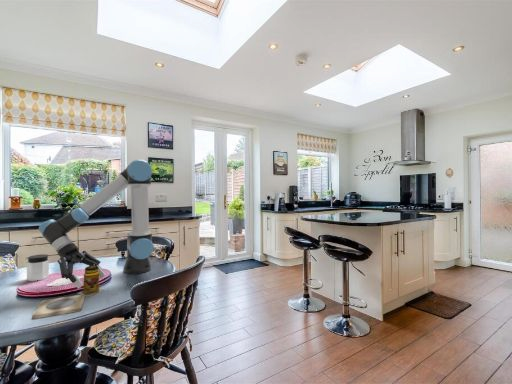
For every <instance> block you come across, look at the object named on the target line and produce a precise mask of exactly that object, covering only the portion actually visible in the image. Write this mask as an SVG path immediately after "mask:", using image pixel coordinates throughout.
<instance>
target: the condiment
mask: <svg viewBox="0 0 512 384" xmlns="http://www.w3.org/2000/svg"><path fill="white" fill-rule="evenodd" d="M83 284H84V285H83V290H81V291H79V292H76V294H77V295H83V294H85V297H86V296H87V297H91V296H93V295H94V296H95V294H99V293H101V292H102V291H104V289H100V277H99V271H98V266H89V265H87V266H86V267H85V268H84V273H83Z"/></svg>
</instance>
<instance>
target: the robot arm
mask: <svg viewBox="0 0 512 384" xmlns="http://www.w3.org/2000/svg"><path fill="white" fill-rule="evenodd" d="M152 173H153V169H152V166H151V164H150V163H149V162H148V161H146V160H145V159H134V160H132V161H131V162H130V163H129V164H128V166H126V168H125V169H124V170H123V171H121V172H120V173H119V174H118V177H116V178H114V179H113V180H112V181H111V182H109V183H108V184H107V185H105V186H104V187H103V188H101V189H100V190H98V191H97V192H96V193H94V194H93V195H92V196H89V197H88V199H86V200H85V201H84V202H82V203H80V204H79V205H78V206H76V207H75V208H74V209H72V210H70V211H69V212H68V213H67V214H65V215H63V216H62V217H61V218H59V219H57V220H55V219H48V220H46V221H44V222H42V223H41V224H40V225H39V227H38V230H39V231H38V232H40V233H41V235H42V237H43V238H44V239H45V240H46V241H47V242H48V243H49V245H50V246H51V247H52V248H53V249H54V251H55V252H56V253H57V255H58V256H59V259H58V260H57V263H58V264H59V268H60V269H59V270H60V275H61V279H65V280H69V281H70V282H71V283H72V284H74V286H75V287H76V288H77V289H78V290H79V289H81V288H82V287H84V282H82V280H81V279H80V278H79V277H78V276H77V274H76V273H73V272H74V271H73V270H74V265H76V264H84V265H86V266H98V271H99V279H103V278H104V277H105V276H106V275H107V274H106V273H105V272H104V271H103V268H102V267H101V266H100V264H101V263H102V262H101V261H100V260H98V259H97V258H96V257H94V256H92V255H90V253H88V252H87V251H86V250H82V252H80V251H79V248H78V246H77V245H76V244H75V243H74V241H73V240H72V239H71V238H70V237H69V236H68V233H70V232H71V231H72V230H74V229H75V228H78V226H80V225H82V224H84V223H85V222H86V221H88V220H89V218H90V216H91V215H92V214H94V213H95V212H97V210H100V208H101V207H103V206H105V205H106V204H107V203H108V202H110V201H112V199H114V198H115V197H117V196H118V195H119V194H120V193H122V192H123V191H124V190H125V189H127V188H129V187H130V195H131V196H130V198H131V199H130V200H131V201H130V202H131V232H128V233H127V236H126V239H127V240H126V241H127V242H126V243H127V244H126V259H125V263H124V264H123V265H124V266H123V271H122V272H123V273H124V274H130V275H133V274H134V275H137V274H142V273H146V272H149V271H150V270H152V265H151V261H150V258H149V257H150V256H151V255H152V254H153V252H154V247H155V246H154V243H153V233H152V231H150V225H149V224H150V221H149V217H150V216H149V187H150V186H151V185H152V179H151V178H152Z"/></svg>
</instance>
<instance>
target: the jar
mask: <svg viewBox="0 0 512 384" xmlns="http://www.w3.org/2000/svg"><path fill="white" fill-rule="evenodd" d="M27 258H28V259H27V260H28V261H27V262H26V280H27V281H29V282H36V281H37V280H38V281H43V280H46V279H48V278H49V274H50V262H49V261H50V260H49V254H33V255H30V256H28V257H27ZM38 281H37V282H38Z"/></svg>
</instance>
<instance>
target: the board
mask: <svg viewBox="0 0 512 384" xmlns="http://www.w3.org/2000/svg"><path fill="white" fill-rule="evenodd" d="M85 299H86V295H85V294H83V295H82V294H77V295H70V296H63V297H58V298H57V297H56V298H48V299H44V300H43V299H42V301H41V302H40V304H39V305H38V307H37V308H36V310H35V311H34V313H33V315H32V320H35V319H40V318H45V317H53V316H58V315H64V314H65V315H66V314H70V313H75V312H81V311H82V309H83V306H84V303H85Z"/></svg>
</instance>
